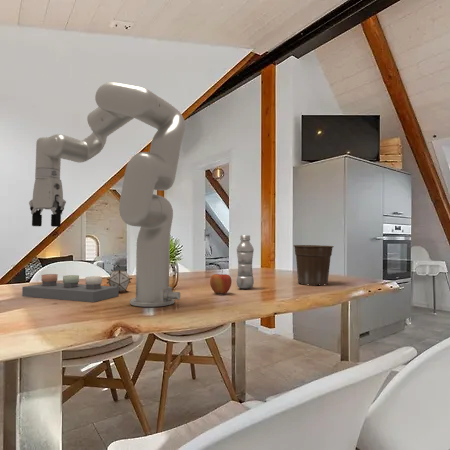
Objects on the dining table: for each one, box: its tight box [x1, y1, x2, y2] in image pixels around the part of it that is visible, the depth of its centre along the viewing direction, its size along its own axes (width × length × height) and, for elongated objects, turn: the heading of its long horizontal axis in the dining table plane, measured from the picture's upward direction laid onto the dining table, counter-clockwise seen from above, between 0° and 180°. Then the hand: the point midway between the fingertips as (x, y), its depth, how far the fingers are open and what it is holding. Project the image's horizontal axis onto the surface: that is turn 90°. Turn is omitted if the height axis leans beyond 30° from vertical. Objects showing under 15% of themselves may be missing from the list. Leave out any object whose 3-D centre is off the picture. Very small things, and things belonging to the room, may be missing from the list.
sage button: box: [62, 274, 80, 288], centre depth 119 cm, size 5×5×5 cm
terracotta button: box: [40, 273, 58, 286], centre depth 122 cm, size 5×5×5 cm
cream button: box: [84, 275, 103, 290], centre depth 116 cm, size 5×5×5 cm
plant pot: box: [293, 244, 334, 286], centre depth 154 cm, size 16×16×16 cm
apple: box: [209, 270, 232, 295], centre depth 126 cm, size 7×7×8 cm
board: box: [21, 282, 120, 303], centre depth 119 cm, size 28×12×3 cm, turn 70°
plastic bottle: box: [236, 234, 255, 290], centre depth 138 cm, size 6×7×20 cm
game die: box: [106, 268, 133, 293], centre depth 128 cm, size 9×8×10 cm
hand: (46, 226), depth 123 cm, fingers open, 9 cm apart
